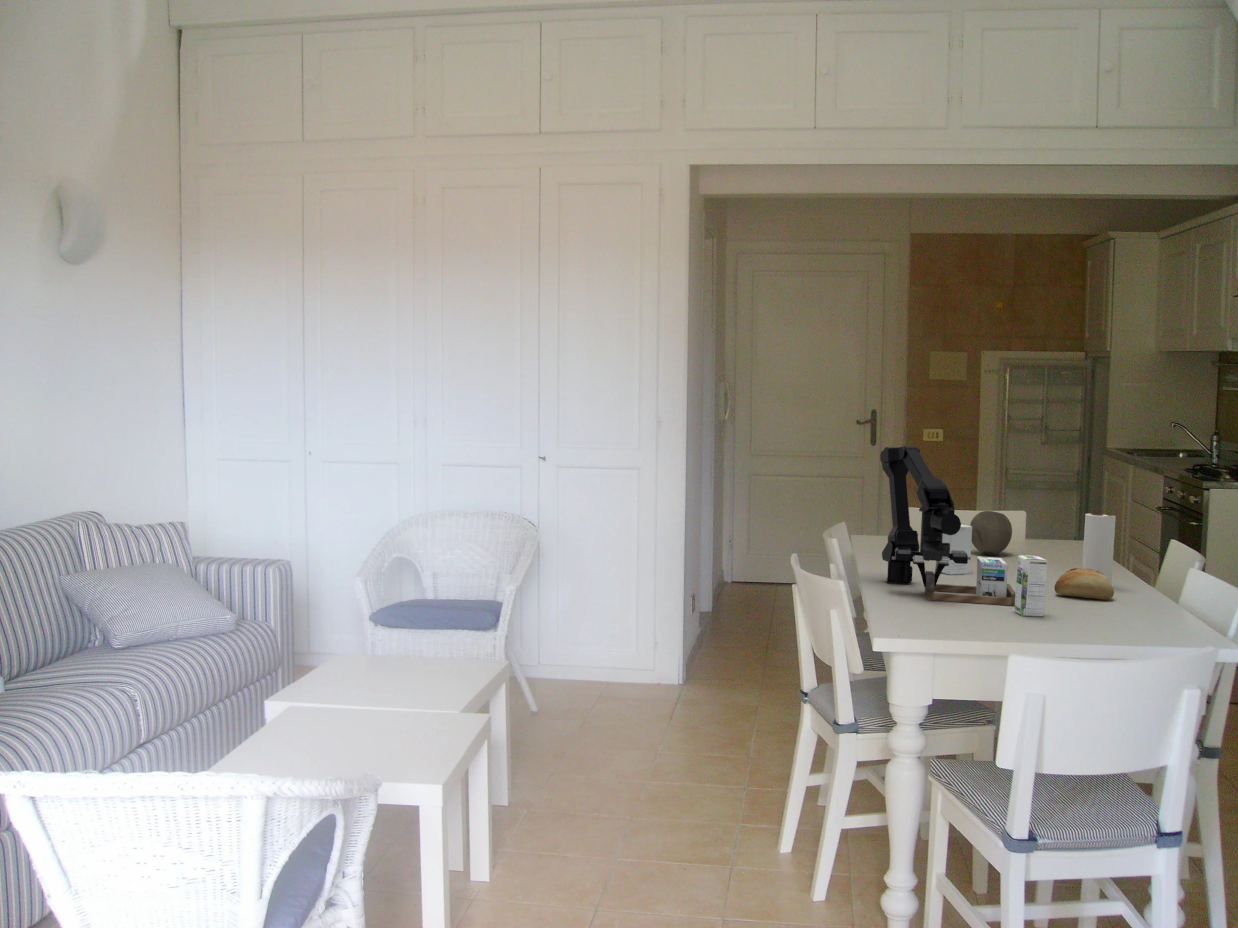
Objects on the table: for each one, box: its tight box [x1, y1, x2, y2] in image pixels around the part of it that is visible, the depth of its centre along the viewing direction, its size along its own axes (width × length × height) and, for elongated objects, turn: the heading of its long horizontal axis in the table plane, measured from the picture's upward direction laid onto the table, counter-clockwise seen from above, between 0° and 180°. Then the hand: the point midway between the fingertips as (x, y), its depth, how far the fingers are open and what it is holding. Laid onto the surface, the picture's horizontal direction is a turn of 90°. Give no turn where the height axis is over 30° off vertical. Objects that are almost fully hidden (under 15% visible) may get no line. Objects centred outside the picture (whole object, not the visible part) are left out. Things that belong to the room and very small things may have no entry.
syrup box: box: [1014, 554, 1048, 617], centre depth 268 cm, size 6×6×14 cm
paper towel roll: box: [1081, 513, 1117, 586], centre depth 306 cm, size 7×6×21 cm
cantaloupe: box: [969, 510, 1013, 556], centre depth 365 cm, size 14×14×15 cm
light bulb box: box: [975, 555, 1009, 597], centre depth 286 cm, size 11×7×11 cm, turn 168°
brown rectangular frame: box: [924, 570, 1016, 607], centre depth 288 cm, size 22×15×6 cm
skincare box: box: [941, 524, 972, 576], centre depth 326 cm, size 8×6×15 cm
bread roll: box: [1053, 567, 1115, 601], centre depth 292 cm, size 10×15×8 cm, turn 72°
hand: (929, 586), depth 290 cm, fingers closed on brown rectangular frame, 2 cm apart
